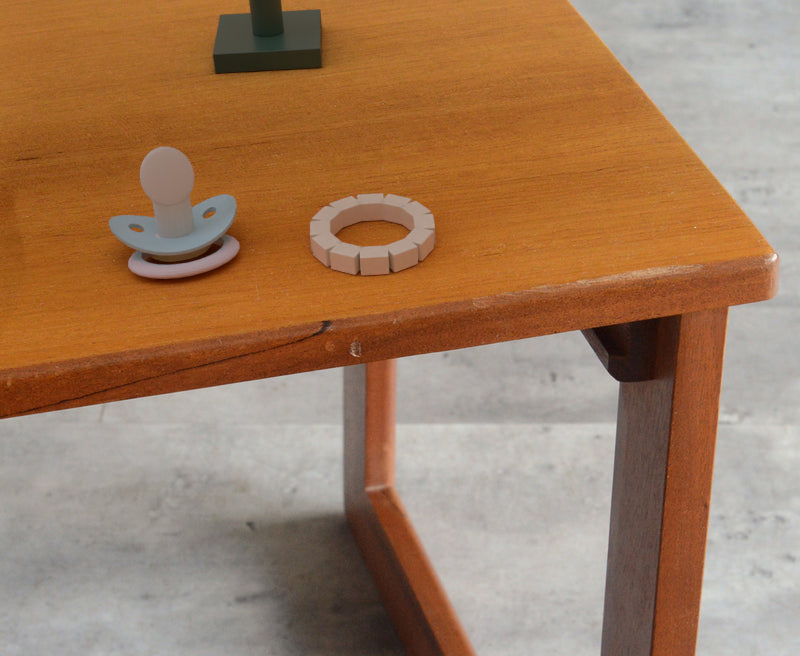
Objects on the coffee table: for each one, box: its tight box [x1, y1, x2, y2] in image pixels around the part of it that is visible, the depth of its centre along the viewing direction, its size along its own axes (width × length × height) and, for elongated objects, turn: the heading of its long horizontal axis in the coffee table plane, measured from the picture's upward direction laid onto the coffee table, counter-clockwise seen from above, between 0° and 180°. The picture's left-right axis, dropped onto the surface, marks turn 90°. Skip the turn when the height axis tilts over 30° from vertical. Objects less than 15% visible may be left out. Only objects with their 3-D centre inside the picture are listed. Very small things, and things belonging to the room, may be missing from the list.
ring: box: [309, 192, 437, 276], centre depth 69 cm, size 7×7×1 cm
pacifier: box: [108, 146, 241, 280], centre depth 67 cm, size 7×6×6 cm
